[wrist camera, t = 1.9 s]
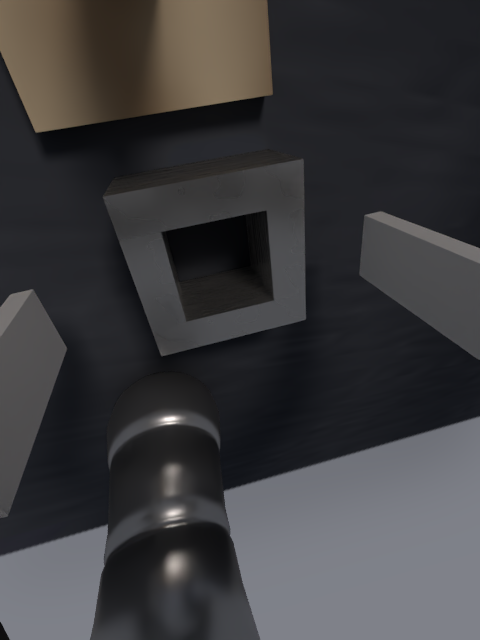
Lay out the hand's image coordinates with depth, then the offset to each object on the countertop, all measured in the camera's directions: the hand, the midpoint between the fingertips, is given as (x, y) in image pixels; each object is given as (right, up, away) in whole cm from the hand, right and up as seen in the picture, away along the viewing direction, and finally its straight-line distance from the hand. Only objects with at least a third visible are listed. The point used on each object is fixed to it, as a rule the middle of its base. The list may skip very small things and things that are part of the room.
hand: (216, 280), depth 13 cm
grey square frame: (-1, +3, +3) cm, 4 cm away
